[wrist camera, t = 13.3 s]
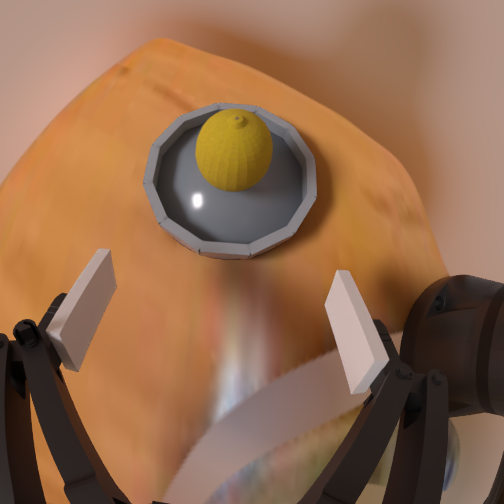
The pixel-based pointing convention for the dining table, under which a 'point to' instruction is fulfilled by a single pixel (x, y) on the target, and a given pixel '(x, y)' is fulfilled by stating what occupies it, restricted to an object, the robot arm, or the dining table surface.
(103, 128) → the dining table surface
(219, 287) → the dining table surface
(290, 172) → the grey round plate
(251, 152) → the lemon
